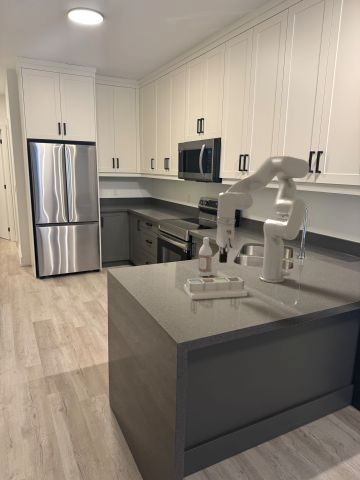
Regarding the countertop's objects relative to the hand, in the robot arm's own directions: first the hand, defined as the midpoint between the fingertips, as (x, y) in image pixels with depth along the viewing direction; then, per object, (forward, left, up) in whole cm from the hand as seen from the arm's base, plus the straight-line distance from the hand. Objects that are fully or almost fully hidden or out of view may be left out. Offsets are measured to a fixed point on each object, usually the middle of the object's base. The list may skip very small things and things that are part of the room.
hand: (222, 262), depth 145 cm
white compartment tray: (+3, 0, -14) cm, 14 cm away
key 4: (+12, 0, -10) cm, 16 cm away
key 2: (0, 0, -10) cm, 11 cm away
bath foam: (0, -26, -14) cm, 29 cm away
